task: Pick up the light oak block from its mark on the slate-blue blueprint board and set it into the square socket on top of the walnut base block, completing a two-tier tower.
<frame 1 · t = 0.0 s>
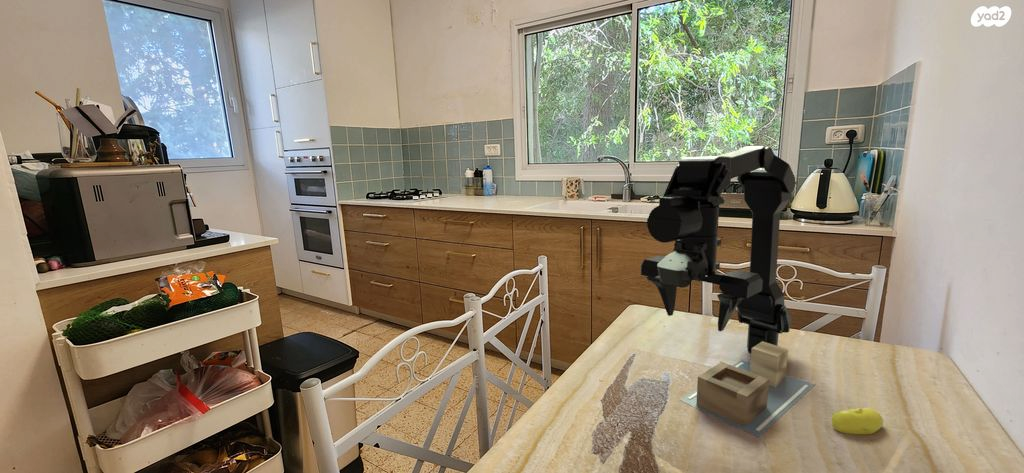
hand: (694, 322, 73), 15 cm above the table, fingers open, 9 cm apart
base block: (731, 405, 72), point 1 cm above the table, touching blueprint board
blueprint board: (748, 396, 76), on the table
oak block: (767, 378, 81), point 1 cm above the table, touching blueprint board
yellow oval piece: (856, 433, 66), on the table
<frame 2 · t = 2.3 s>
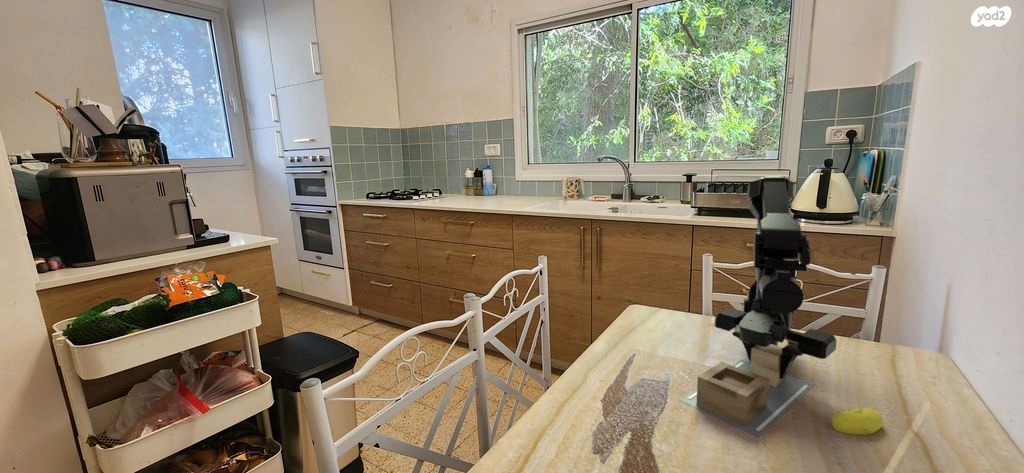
hand: (767, 373, 80), 2 cm above the table, fingers closed on oak block, 4 cm apart
oak block: (767, 378, 81), point 1 cm above the table, touching blueprint board, gripper
everything else where it was.
when the fingers open (7 cm above the table, at t = 6.0 s): oak block drops 2 cm, resting on base block.
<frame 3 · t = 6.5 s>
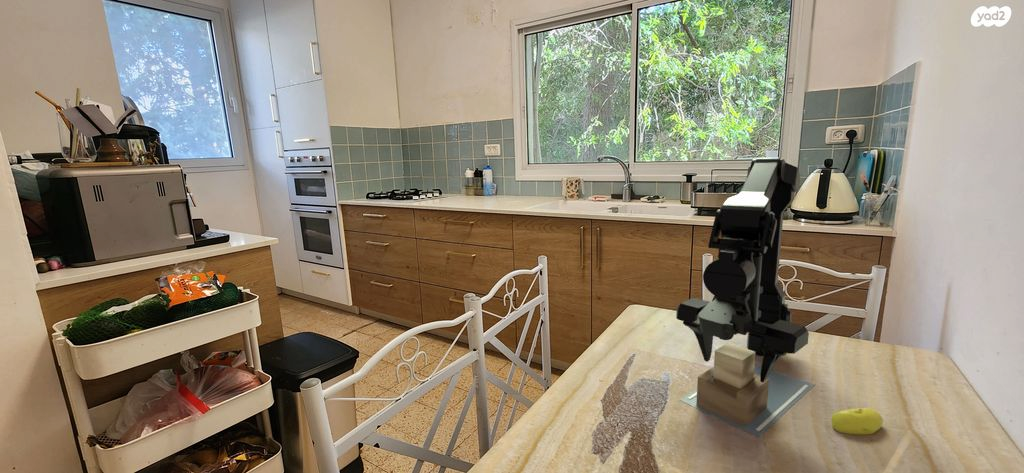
hand: (733, 370, 71), 7 cm above the table, fingers open, 9 cm apart
base block: (731, 405, 72), point 1 cm above the table, touching blueprint board, oak block
oak block: (732, 384, 72), point 5 cm above the table, touching base block
everything else where it was.
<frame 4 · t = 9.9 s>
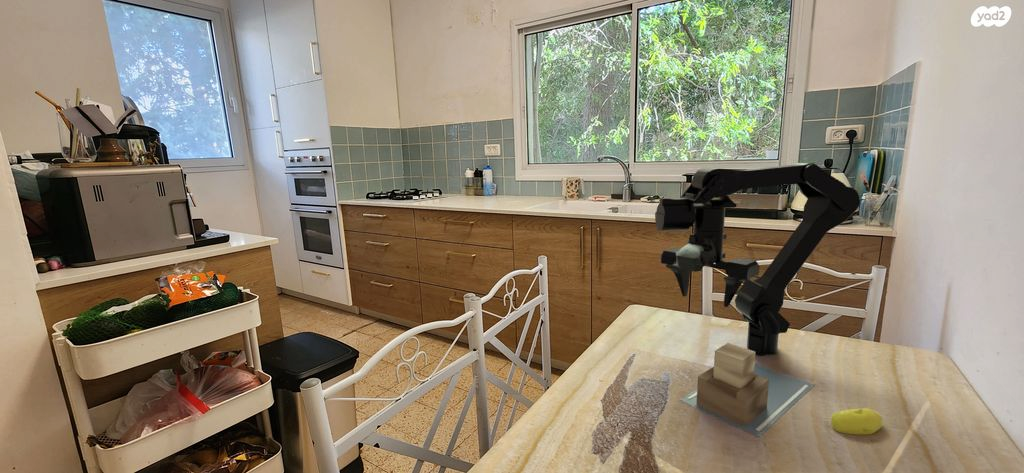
hand: (704, 301, 91), 12 cm above the table, fingers open, 9 cm apart
nothing on the table moved.
at the end: oak block 0.0 cm off-centre on the base block, point 4.0 cm above the base block's base; oak block tilted 0°; base block moved 0.0 cm from its start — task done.
